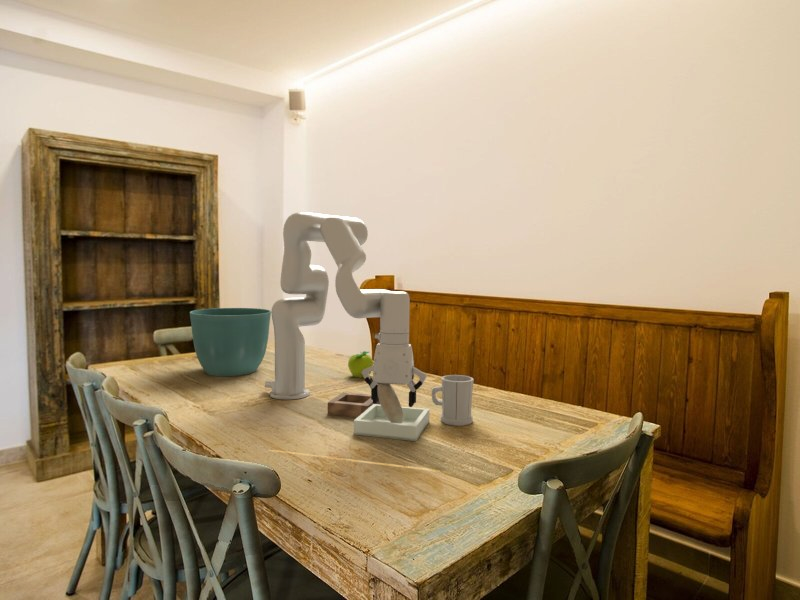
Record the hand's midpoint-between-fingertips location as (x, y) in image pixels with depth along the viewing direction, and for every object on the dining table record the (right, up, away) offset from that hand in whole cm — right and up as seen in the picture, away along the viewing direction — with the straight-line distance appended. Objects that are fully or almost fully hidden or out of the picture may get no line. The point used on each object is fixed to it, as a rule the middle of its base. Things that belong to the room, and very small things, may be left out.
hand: (393, 404), depth 131 cm
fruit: (-13, -3, +60) cm, 61 cm away
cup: (+16, -6, +7) cm, 19 cm away
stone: (0, -6, 0) cm, 6 cm away
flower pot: (-64, -1, +66) cm, 92 cm away
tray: (0, -6, 0) cm, 6 cm away
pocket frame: (-11, -5, +16) cm, 20 cm away
